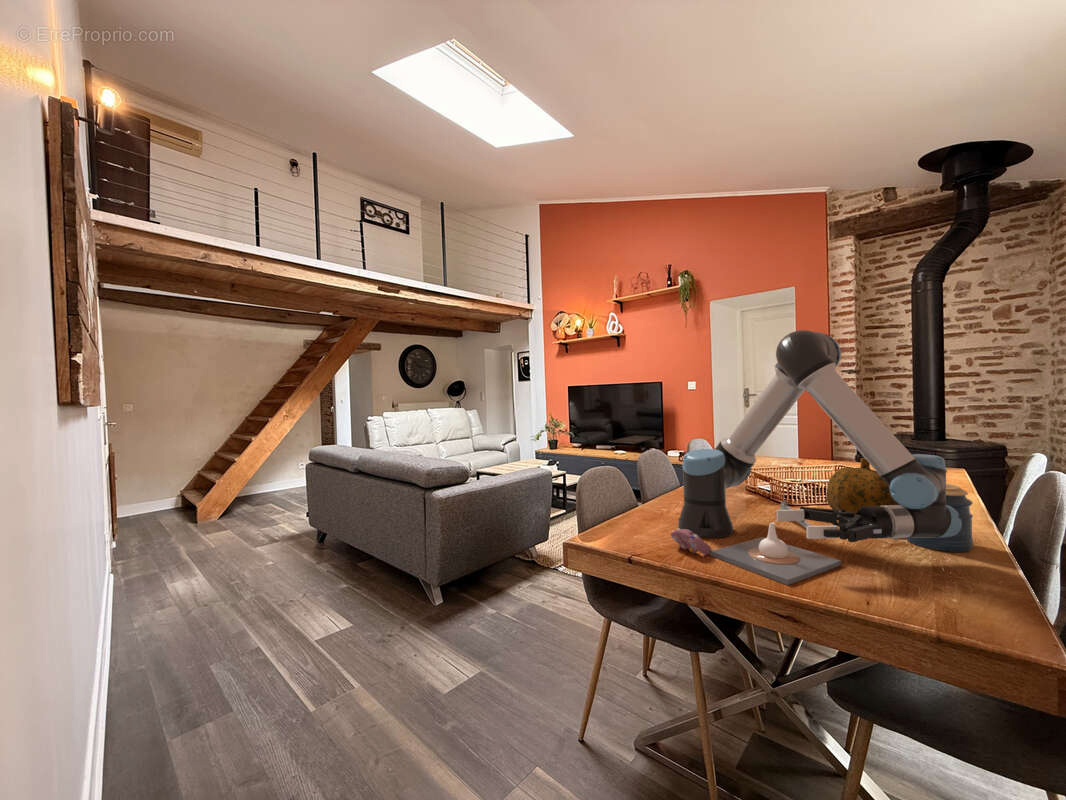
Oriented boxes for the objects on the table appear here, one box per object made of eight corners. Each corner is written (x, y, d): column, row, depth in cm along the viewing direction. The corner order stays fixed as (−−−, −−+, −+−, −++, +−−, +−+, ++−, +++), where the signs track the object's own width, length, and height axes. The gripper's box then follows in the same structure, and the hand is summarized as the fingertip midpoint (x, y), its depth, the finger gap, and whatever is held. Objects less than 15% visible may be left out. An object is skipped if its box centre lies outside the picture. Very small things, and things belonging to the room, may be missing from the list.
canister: (987, 550, 110) (987, 479, 110) (944, 555, 108) (943, 482, 108) (932, 534, 123) (931, 470, 123) (892, 538, 121) (891, 473, 121)
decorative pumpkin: (841, 528, 127) (841, 458, 129) (818, 514, 148) (818, 454, 149) (927, 535, 122) (926, 462, 123) (890, 520, 142) (890, 457, 143)
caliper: (780, 518, 142) (779, 499, 142) (783, 518, 142) (783, 499, 142) (821, 539, 122) (820, 517, 122) (825, 539, 122) (824, 517, 122)
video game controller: (675, 551, 120) (665, 530, 119) (686, 541, 122) (677, 520, 121) (703, 563, 111) (692, 541, 110) (714, 552, 113) (705, 530, 112)
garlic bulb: (779, 551, 111) (776, 519, 112) (794, 558, 105) (791, 524, 105) (754, 552, 111) (752, 520, 112) (768, 559, 105) (765, 525, 105)
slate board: (710, 555, 112) (710, 550, 112) (762, 541, 122) (762, 536, 122) (787, 585, 95) (787, 578, 95) (841, 565, 104) (841, 559, 104)
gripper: (926, 556, 94) (822, 558, 95) (848, 522, 119) (767, 523, 120) (926, 521, 94) (822, 523, 95) (848, 494, 119) (766, 495, 120)
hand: (791, 523), depth 107 cm, fingers open, 13 cm apart
